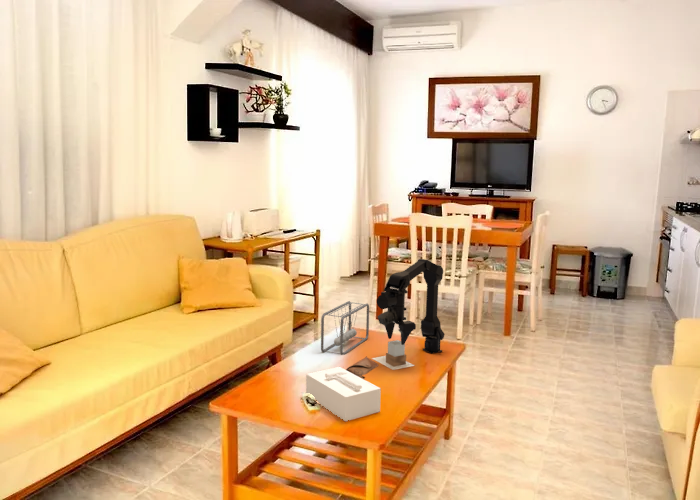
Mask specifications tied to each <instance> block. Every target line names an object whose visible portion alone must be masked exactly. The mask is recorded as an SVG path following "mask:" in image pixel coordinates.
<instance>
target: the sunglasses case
mask: <svg viewBox="0 0 700 500" xmlns="http://www.w3.org/2000/svg"><path fill="white" fill-rule="evenodd" d="M379 366H380V365H379V363H378V362H375V360H373V359H372V358H371V359H370V358H369V357H368V356H365V357H364V358H362V359H361V360H358V361H357V362H355V363H353V364H352V365H350V366H349V367H347V368H346V369H345V370H347V371H349V372H350V373H352V374H354V375H356V376H358V377H360V378H362V379H364V380H365V378H366V377H365V376H366V375H367V374H368V373H370V372H372V371H373V370H374V369H375V368H377V367H379ZM364 375H365V376H364Z"/></svg>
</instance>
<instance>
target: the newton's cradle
mask: <svg viewBox="0 0 700 500" xmlns="http://www.w3.org/2000/svg"><path fill="white" fill-rule="evenodd" d="M352 304H354V305H355V304H356V305H357V306H355V307H354V308H352ZM364 308H366V324H365V325H366V327H365V329H366V331H365V332H366V333H365V337H361V336H360V337H359V336H356V335H357V334H358V332H357V330H356V329H355V327H352V326H355V324H356V322H352V321H353V319H354V317H352V316H354V314H355V315H356V316H357V315H358V311H360V310H362V309H364ZM343 309H344V310H345V311H343ZM339 311H342V312H340V313H337V312H339ZM343 312H345V313H343ZM336 313H337V315H335V314H336ZM339 314H340V315H339ZM325 316H329V317H330V316H331V317H334V318H340V320H338V322H339V324H340V327H339V330H340V331H339V336H338V335H336V336H337V337H335V338H334V340H333V343H332V344H331V345H329V346H327V347H325V348H324V346H325V345H324V341H325V338H324V337H325V335H324V333H325V326H324V325H325ZM344 320H348V321H344ZM356 320H357V317H355V320H354V321H356ZM320 321H321V322H320V327H321V328H320V350H321V353H326V352H327V353H331V354H338V355H341V356H342V355H346V354H347V353H349V352H350V351H352V350H354V349H355V348H357V347H358V346H359V345H361V344H363V343H364V342H365V341H367V340H368V338H369V336H370V335H369V332H370V331H369V330H370V329H369V328H370V327H369V326H370V304H369V303H359V302H352V301H350V300H349V301H346V302H344V303H341V304H339V305H337V306H336V307H333V308H332V309H330V310H327V311H326V312H323V314H322V315H321V319H320ZM334 322H335V325H337V323H336V321H334ZM346 323H347V325H348V327H347V328H346V326H344V325H346ZM353 323H354V324H353ZM352 324H353V325H352ZM345 328H346V329H345ZM337 329H338V328H335V331H336V332H338V331H337ZM352 338H353V339H354V338H355V339H361V340H360V341H359V342H358V341H357V343H355V344H354V345H352V346H351V347H349V348H348V349H346V350H344V349H343V348H344V344H345V343H346V342H348V341H349V340H350V339H352ZM335 346H336V347H339V352H335V351H330V350H331V349H332V348H333V347H335ZM343 350H344V352H343Z"/></svg>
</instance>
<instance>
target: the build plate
mask: <svg viewBox="0 0 700 500" xmlns="http://www.w3.org/2000/svg"><path fill="white" fill-rule="evenodd" d="M371 360H373V361H374V362H375V361H376V363H378V364H381V365H383V366H385V367H387V368H388V369H390V370H393V371H395V370H399V369H405V368H409V367H415V364H413V363H410V362H409V361H407V360H406V364H405V365H400V366H395V367H394V366H392V365H390V364H388V363H386V355H383V356H382V355H381V356H377V357H371Z"/></svg>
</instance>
